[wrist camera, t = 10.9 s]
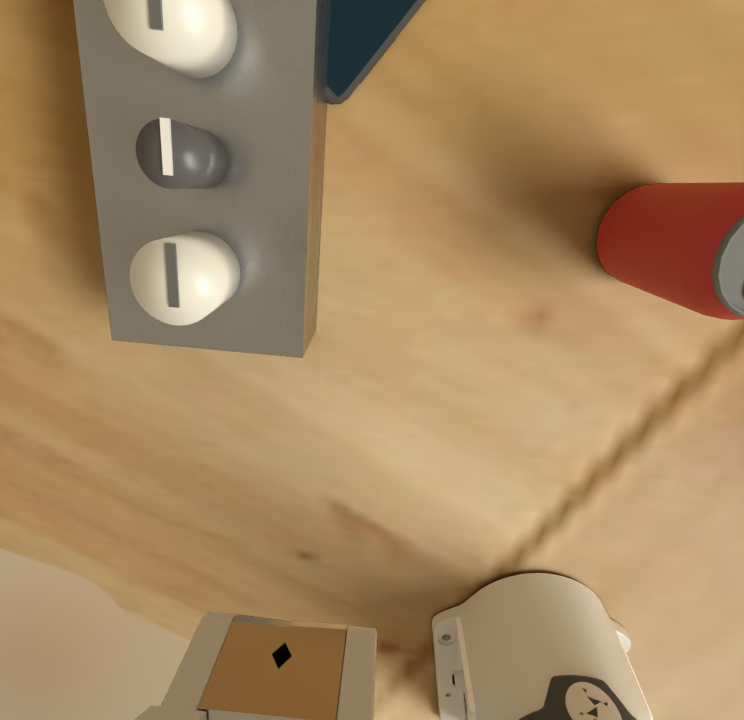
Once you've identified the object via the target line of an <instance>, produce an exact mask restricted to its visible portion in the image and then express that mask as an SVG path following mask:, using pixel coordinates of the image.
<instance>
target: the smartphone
mask: <svg viewBox="0 0 744 720" xmlns="http://www.w3.org/2000/svg"><path fill="white" fill-rule="evenodd" d="M425 1H426V0H331V6H330V26H329V47H328V68H327V88H326V101H327V102H328V103H330V104H341V103H342V102H344V101H345V100H347V99H348V98H349V96H350V95H351V94H352V93H353V91H354V90H355V89H356V88H357V86H358V85H359V84H360V83H361V82H362V81H363V80H364V78H365V77H366V76H367V75H368V73H369V72H370V71H371V70H372V68H373V67H374V66H375V65H376V63H377V62H378V61H379V59H380V58H381V57H382V56H383V54H384V53H385V52H386V51H387V49H388V48H389V47H390V46H391V44H392V43H393V42H394V41H395V38H396V37H397V36H398V35H399V33H400V32H401V31H402V30H403V28H404V27H405V26H406V25H407V23H408V22H409V21H410V19H411V18H412V17H413V16H414V14H415V13H416V12H417V11H418V9H419V8H420V7H421V6H422V4H423V3H424V2H425Z"/></svg>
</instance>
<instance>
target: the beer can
mask: <svg viewBox="0 0 744 720" xmlns="http://www.w3.org/2000/svg"><path fill="white" fill-rule="evenodd" d="M597 252H598V256H599V259H600V263H601V264H602V265H603V267H604V268H605V270H606V271H607V272H608V274H610V275H611V276H613V277H615V278H616V279H618V280H619V281H621V282H624V283H626V284H629V285H631V286H634V287H636V288H639V289H641V290H643V291H646V292H648V293H651V294H653V295H656V296H658V297H661V298H663V299H666V300H668V301H671V302H673V303H676V304H678V305H681V306H683V307H686V308H688V309H691V310H693V311H695V312H698V313H700V314H703V315H707V316H711V317H716V318H720V319H728V320H739V319H744V182H743V183H658V184H649V185H642V186H640V187H638V188H635V189H633V190H631V191H628V192H627V193H626V194H624V195H623V196H622V197H621V198H619V199H618V200H617V201H616V202H614V203H613V205H612V206H611V207H610V209H609V210H608V212H607V213H606V214H605V216H604V217H603V219H602V222H601V225H600V227H599V230H598V233H597Z"/></svg>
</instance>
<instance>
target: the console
mask: <svg viewBox="0 0 744 720" xmlns="http://www.w3.org/2000/svg"><path fill="white" fill-rule="evenodd" d="M229 1H230V3H231V5H232V7H233V10H234V13H235V16H236V21H237V31H238V32H237V43H236V47H235V51H234V53H233V55H232V57H231V59H230V61H229V62H228V64H227V65H226V66H225V67H224V68H223V69H222V70H221V71H219V72H218V73H216V74H214V75H212V76H209V77H206V78H192V77H188V76H185V75H182V74H180V73H178V72H176V71H174V70H173V69H171V68H169V67H167V66H165V65H164V64H162V63H160V62H158V61H156V60H155V59H153V58H151V57H149V56H147V55H145V54H144V53H142V52H140V51H138V50H137V49H135V48H134V47H132V46H131V45H130V44H129V43H128V42H127V41H126V40H125V39H124V38H123V37H122V36H121V35H120V34H119V32H118V31H117V30H116V28H115V26H114V25H113V23H112V21H111V19H110V17H109V15H108V12H107V10H106V7H105V3H104V0H73V5H74V14H75V23H76V32H77V40H78V49H79V58H80V67H81V75H82V84H83V93H84V102H85V110H86V119H87V128H88V137H89V145H90V154H91V163H92V172H93V180H94V189H95V198H96V207H97V215H98V224H99V233H100V242H101V250H102V259H103V268H104V277H105V285H106V294H107V303H108V312H109V320H110V329H111V338H112V340H115V341H126V342H137V343H148V344H158V345H169V346H180V347H191V348H202V349H212V350H223V351H234V352H245V353H255V354H266V355H277V356H288V357H298V358H303V356H304V354H305V352H306V350H307V348H308V345H309V343H310V341H311V339H312V337H313V335H314V333H315V331H316V316H317V295H318V275H319V254H320V234H321V213H322V193H323V172H324V152H325V132H326V111H327V101H326V88H327V68H328V47H329V26H330V6H331V0H229ZM160 117H161V118H169V119H171V120H174V121H178V122H181V123H184V124H187V125H191V126H194V127H197V128H200V129H204V130H207V131H209V132H211V133H212V134H214V135H215V136H216V137H217V138H218V139H219V140H220V142H221V143H222V144H223V146H224V148H225V151H226V154H227V160H228V164H227V170H226V173H225V176H224V177H223V179H222V180H221V181H220V182H219V183H218V184H217V185H215V186H213V187H210V188H202V189H168V188H164V187H161V186H159V185H157V184H155V183H154V182H152V181H151V180H150V179H149V178H148V177H147V176H146V175H145V174H144V172H143V171H142V169H141V167H140V166H139V163H138V160H137V157H136V140H137V137H138V134H139V132H140V131H141V129H142V128H143V127H144V126H145V125H146V124H147V123H149V122H150V121H152V120H155V119H160ZM194 231H202V232H207V233H211V234H213V235H215V236H217V237H219V238H221V239H222V240H223V241H224V242H226V243H227V244H228V245H229V247H230V248H231V249H232V250H233V252H234V254H235V255H236V257H237V260H238V263H239V267H240V281H239V285H238V288H237V290H236V292H235V293H234V294H233V296H232V297H231V298H230V299H229V300H227V301H226V302H225V303H223V304H222V305H221V306H219V307H218V308H216V309H215V310H214V311H212V312H211V313H210V314H208V315H207V316H205V317H204V318H203V319H201V320H199V321H198V322H195V323H193V324H189V325H182V326H180V325H171V324H167V323H164V322H161V321H159V320H157V319H156V318H154V317H153V316H151V315H150V314H149V313H147V312H146V311H145V310H144V309H143V308H142V307H141V305H140V304H139V302H138V301H137V299H136V298H135V296H134V293H133V291H132V288H131V283H130V267H131V264H132V261H133V258H134V257H135V255H136V253H137V252H138V251H139V250H140V249H141V248H142V247H143V246H144V245H146V244H148V243H150V242H152V241H155V240H159V239H163V238H167V237H171V236H175V235H180V234H184V233H188V232H194Z"/></svg>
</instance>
